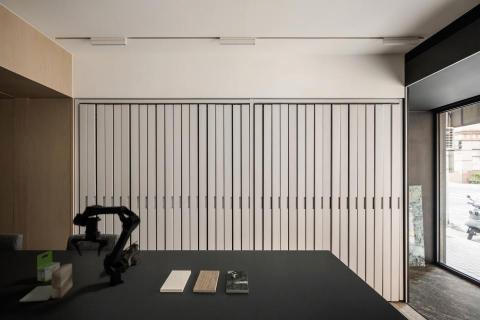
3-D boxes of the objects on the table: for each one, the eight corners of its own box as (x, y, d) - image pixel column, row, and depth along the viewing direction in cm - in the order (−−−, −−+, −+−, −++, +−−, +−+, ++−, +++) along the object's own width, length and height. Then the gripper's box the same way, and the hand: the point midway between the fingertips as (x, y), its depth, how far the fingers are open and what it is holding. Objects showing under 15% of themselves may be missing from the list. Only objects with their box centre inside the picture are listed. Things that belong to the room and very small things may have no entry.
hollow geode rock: (118, 282, 167) (136, 264, 166) (102, 267, 167) (119, 248, 166) (137, 262, 195) (153, 246, 194) (123, 249, 195) (138, 233, 194)
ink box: (45, 282, 158) (44, 256, 158) (36, 281, 159) (35, 256, 159) (60, 274, 168) (59, 250, 168) (52, 273, 169) (51, 249, 169)
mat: (62, 285, 153) (62, 284, 153) (47, 300, 138) (46, 298, 138) (37, 287, 152) (37, 286, 152) (19, 302, 137) (19, 300, 137)
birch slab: (72, 286, 152) (71, 263, 152) (61, 298, 141) (60, 273, 140) (64, 287, 152) (63, 264, 152) (52, 298, 140) (51, 273, 140)
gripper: (113, 224, 169) (112, 251, 170) (79, 223, 166) (78, 250, 167) (107, 230, 158) (105, 259, 159) (70, 229, 155) (69, 257, 156)
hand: (89, 256), depth 161 cm, fingers open, 9 cm apart
